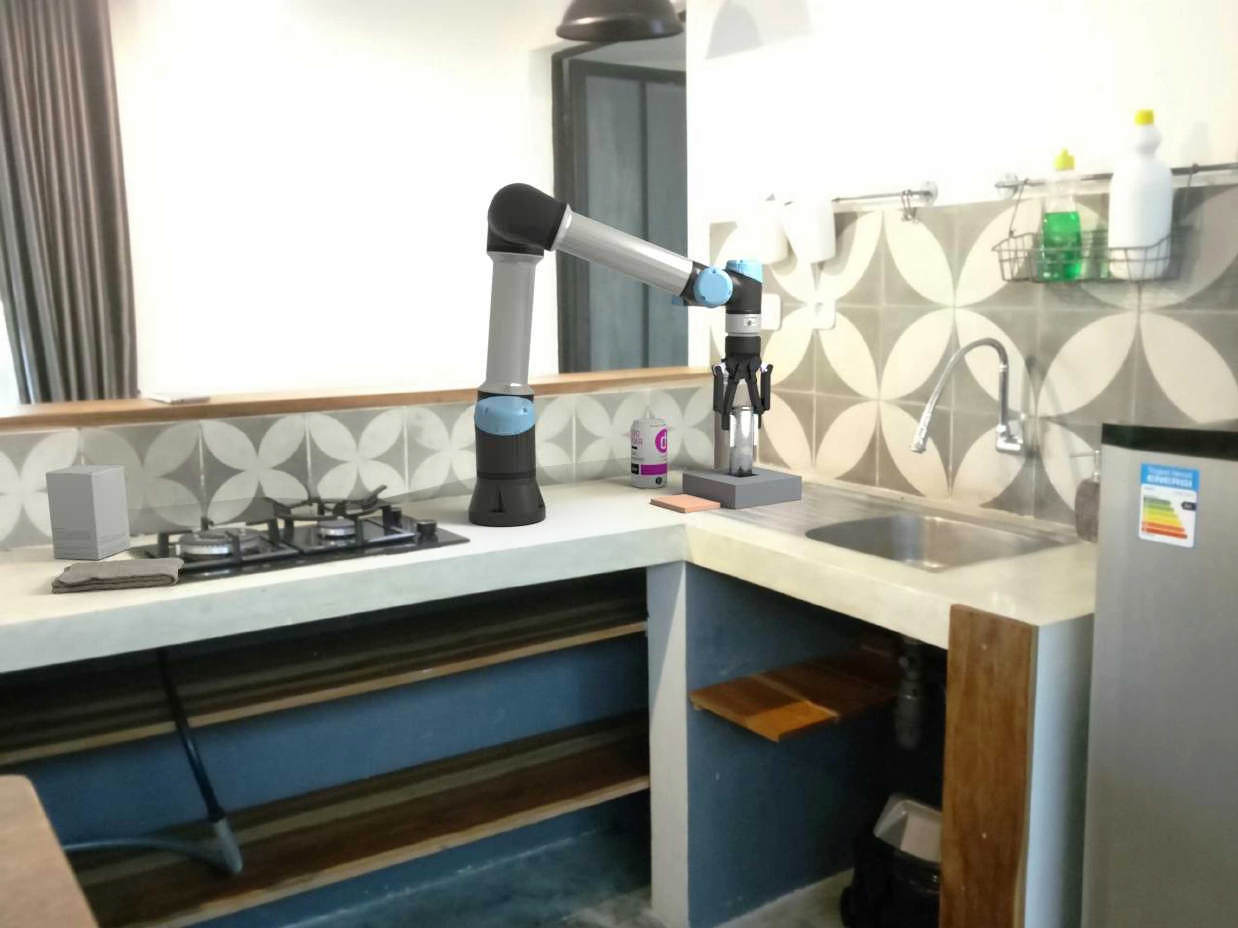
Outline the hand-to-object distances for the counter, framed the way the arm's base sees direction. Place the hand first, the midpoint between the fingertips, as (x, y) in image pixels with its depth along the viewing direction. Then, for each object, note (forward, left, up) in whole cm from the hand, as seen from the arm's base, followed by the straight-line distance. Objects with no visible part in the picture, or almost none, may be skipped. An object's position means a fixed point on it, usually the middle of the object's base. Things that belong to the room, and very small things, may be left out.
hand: (741, 444), depth 231 cm
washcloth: (-122, +4, -12) cm, 123 cm away
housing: (0, 0, -11) cm, 11 cm away
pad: (-15, 0, -11) cm, 19 cm away
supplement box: (-123, +26, -12) cm, 126 cm away
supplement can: (-8, +23, -12) cm, 27 cm away
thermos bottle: (+15, +22, -12) cm, 29 cm away
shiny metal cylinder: (0, 0, -8) cm, 8 cm away
